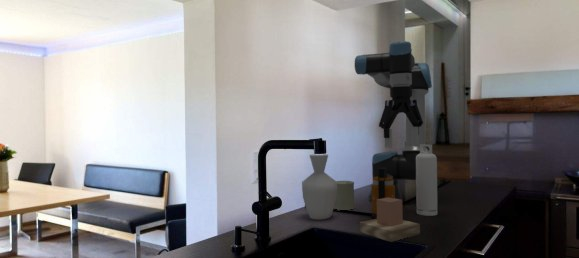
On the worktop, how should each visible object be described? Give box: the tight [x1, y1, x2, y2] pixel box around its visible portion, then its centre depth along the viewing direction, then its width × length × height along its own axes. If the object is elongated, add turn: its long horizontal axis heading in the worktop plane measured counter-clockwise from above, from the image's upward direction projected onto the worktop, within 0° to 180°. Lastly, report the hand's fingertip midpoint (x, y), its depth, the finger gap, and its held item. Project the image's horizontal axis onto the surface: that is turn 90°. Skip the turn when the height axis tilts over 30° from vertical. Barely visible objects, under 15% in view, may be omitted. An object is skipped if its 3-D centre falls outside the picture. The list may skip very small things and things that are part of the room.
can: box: [333, 180, 355, 211], centre depth 173 cm, size 9×9×12 cm
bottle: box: [415, 143, 438, 217], centre depth 160 cm, size 8×8×28 cm
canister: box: [370, 167, 395, 219], centre depth 153 cm, size 9×11×20 cm
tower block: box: [377, 197, 404, 226], centre depth 134 cm, size 6×6×8 cm
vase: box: [301, 153, 337, 221], centre depth 158 cm, size 14×14×25 cm
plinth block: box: [359, 218, 421, 243], centre depth 134 cm, size 14×14×4 cm
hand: (402, 146), depth 140 cm, fingers open, 13 cm apart
